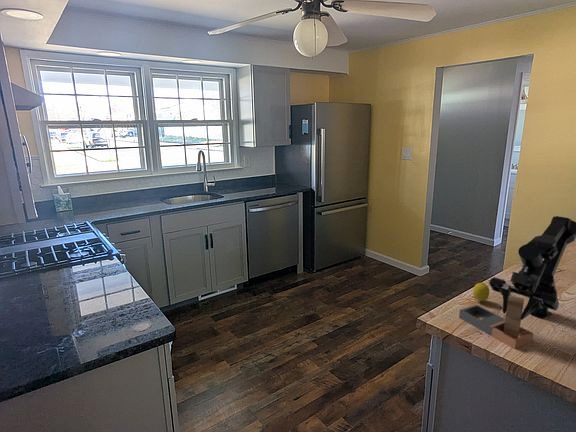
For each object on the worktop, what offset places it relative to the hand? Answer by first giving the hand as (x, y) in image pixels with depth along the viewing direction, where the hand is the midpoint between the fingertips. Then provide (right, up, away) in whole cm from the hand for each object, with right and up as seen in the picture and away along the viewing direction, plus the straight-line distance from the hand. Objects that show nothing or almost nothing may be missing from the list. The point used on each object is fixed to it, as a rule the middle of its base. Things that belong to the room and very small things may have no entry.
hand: (512, 316), depth 114 cm
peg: (+1, -6, +3) cm, 7 cm away
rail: (-1, -7, +8) cm, 11 cm away
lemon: (+4, -2, +26) cm, 27 cm away
